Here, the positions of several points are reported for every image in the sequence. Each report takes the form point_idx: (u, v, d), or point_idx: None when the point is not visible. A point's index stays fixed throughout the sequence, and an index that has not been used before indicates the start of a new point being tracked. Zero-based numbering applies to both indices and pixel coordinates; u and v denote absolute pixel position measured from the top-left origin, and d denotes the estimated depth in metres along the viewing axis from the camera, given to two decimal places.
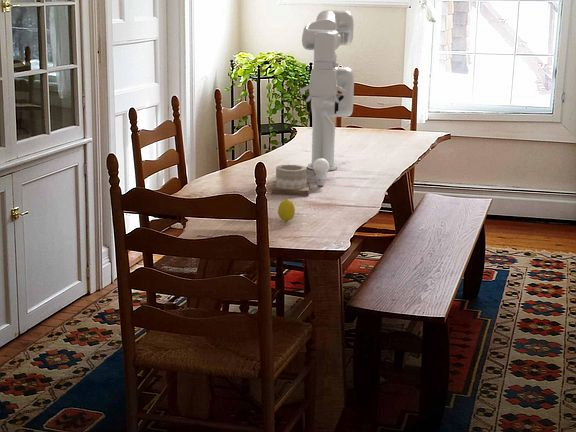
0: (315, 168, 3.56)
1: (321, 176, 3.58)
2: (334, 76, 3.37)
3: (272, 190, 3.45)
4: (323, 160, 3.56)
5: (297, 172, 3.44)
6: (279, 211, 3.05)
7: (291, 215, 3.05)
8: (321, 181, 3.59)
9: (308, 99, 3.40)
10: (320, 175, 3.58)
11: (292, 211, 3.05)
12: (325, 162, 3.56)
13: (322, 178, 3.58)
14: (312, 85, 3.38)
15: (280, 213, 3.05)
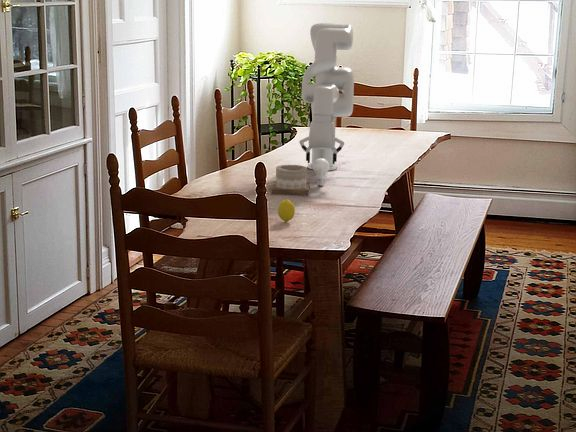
0: (315, 168, 3.56)
1: (321, 176, 3.58)
2: (332, 128, 3.52)
3: (272, 190, 3.45)
4: (323, 160, 3.56)
5: (297, 172, 3.44)
6: (279, 211, 3.05)
7: (291, 215, 3.05)
8: (321, 181, 3.59)
9: (307, 150, 3.55)
10: (320, 175, 3.58)
11: (292, 211, 3.05)
12: (325, 162, 3.56)
13: (322, 178, 3.58)
14: (312, 137, 3.53)
15: (280, 213, 3.05)
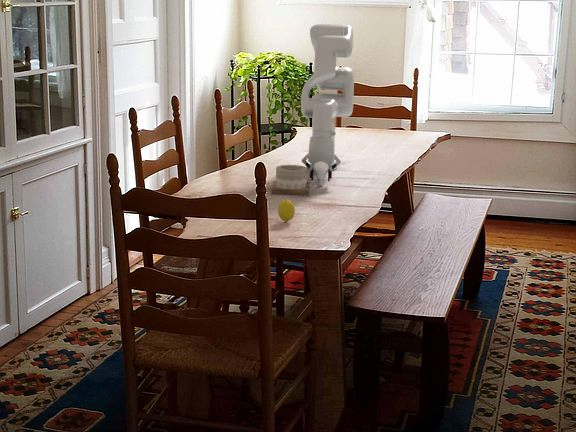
0: (315, 168, 3.56)
1: (321, 176, 3.58)
2: (332, 144, 3.54)
3: (272, 190, 3.45)
4: None
5: (297, 172, 3.44)
6: (279, 211, 3.05)
7: (291, 215, 3.05)
8: (321, 181, 3.59)
9: (311, 168, 3.58)
10: (320, 175, 3.58)
11: (292, 211, 3.05)
12: None
13: (322, 178, 3.58)
14: (311, 153, 3.55)
15: (280, 213, 3.05)
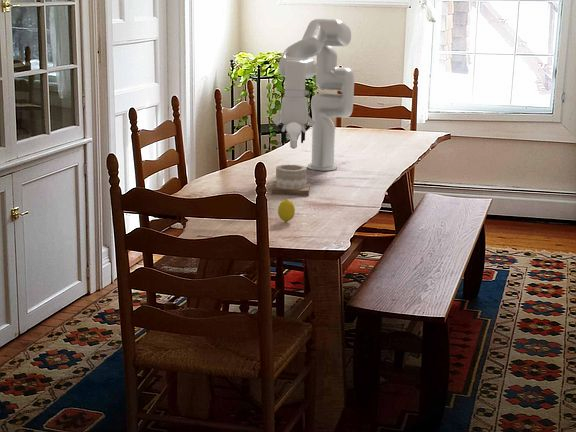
0: (288, 129, 3.43)
1: (294, 138, 3.45)
2: (305, 104, 3.41)
3: (272, 190, 3.45)
4: None
5: (297, 172, 3.44)
6: (279, 211, 3.05)
7: (291, 215, 3.05)
8: (294, 143, 3.46)
9: (284, 129, 3.45)
10: (293, 137, 3.45)
11: (292, 211, 3.05)
12: None
13: (295, 140, 3.45)
14: (283, 113, 3.42)
15: (280, 213, 3.05)
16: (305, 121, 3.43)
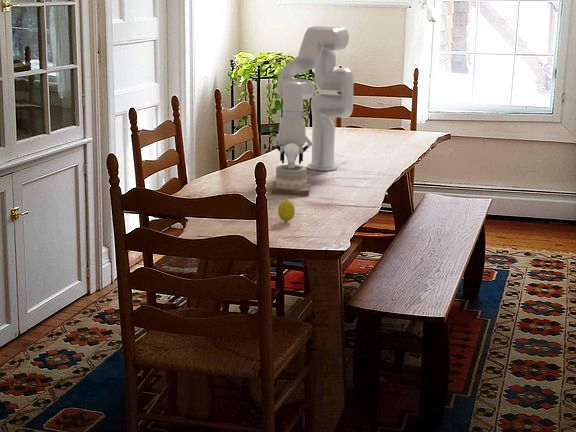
0: (286, 150, 3.45)
1: (291, 159, 3.46)
2: (302, 125, 3.43)
3: (272, 190, 3.45)
4: None
5: (297, 172, 3.44)
6: (279, 211, 3.05)
7: (291, 215, 3.05)
8: (292, 164, 3.47)
9: (281, 150, 3.46)
10: (291, 157, 3.46)
11: (292, 211, 3.05)
12: None
13: (293, 161, 3.47)
14: (281, 134, 3.44)
15: (280, 213, 3.05)
16: (303, 142, 3.44)
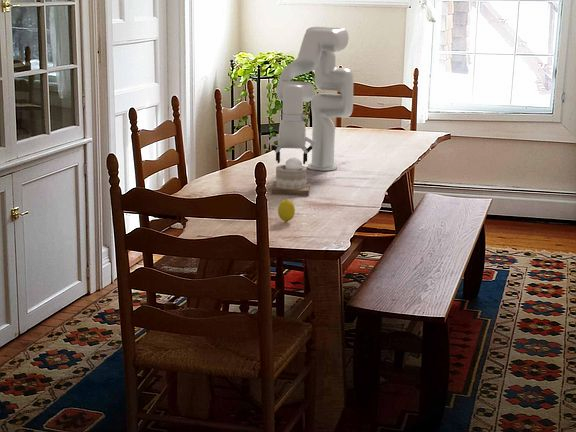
0: (288, 165, 3.47)
1: None
2: (302, 128, 3.43)
3: (272, 190, 3.45)
4: (298, 161, 3.47)
5: (297, 172, 3.44)
6: (279, 211, 3.05)
7: (291, 215, 3.05)
8: None
9: (277, 150, 3.46)
10: None
11: (292, 211, 3.05)
12: (299, 163, 3.47)
13: None
14: (281, 137, 3.44)
15: (280, 213, 3.05)
16: (303, 145, 3.45)
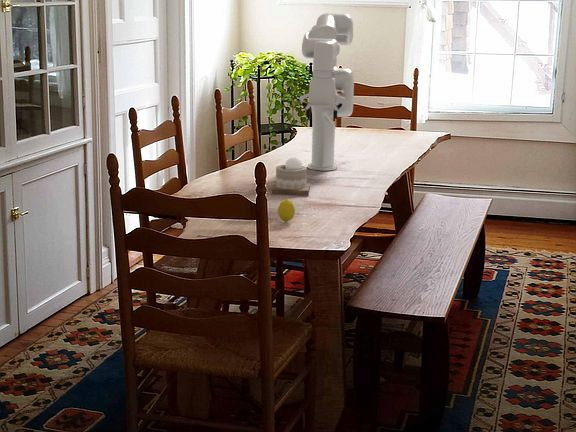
0: (288, 165, 3.47)
1: None
2: (333, 85, 3.46)
3: (272, 190, 3.45)
4: (298, 161, 3.47)
5: (297, 172, 3.44)
6: (279, 211, 3.05)
7: (291, 215, 3.05)
8: None
9: (307, 107, 3.50)
10: None
11: (292, 211, 3.05)
12: (299, 163, 3.47)
13: None
14: (312, 94, 3.47)
15: (280, 213, 3.05)
16: (333, 102, 3.48)
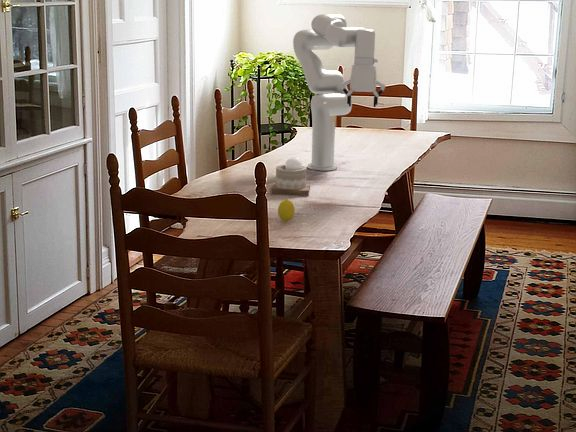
0: (288, 165, 3.47)
1: None
2: (374, 71, 3.55)
3: (272, 190, 3.45)
4: (298, 161, 3.47)
5: (297, 172, 3.44)
6: (279, 211, 3.05)
7: (291, 215, 3.05)
8: None
9: (349, 93, 3.58)
10: None
11: (292, 211, 3.05)
12: (299, 163, 3.47)
13: None
14: (353, 80, 3.56)
15: (280, 213, 3.05)
16: (374, 88, 3.57)
